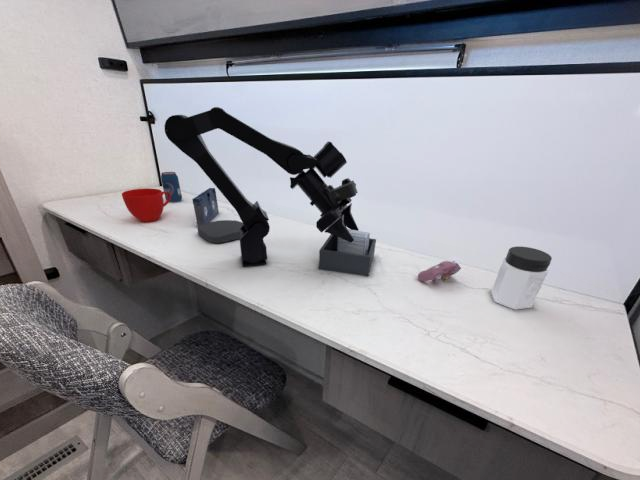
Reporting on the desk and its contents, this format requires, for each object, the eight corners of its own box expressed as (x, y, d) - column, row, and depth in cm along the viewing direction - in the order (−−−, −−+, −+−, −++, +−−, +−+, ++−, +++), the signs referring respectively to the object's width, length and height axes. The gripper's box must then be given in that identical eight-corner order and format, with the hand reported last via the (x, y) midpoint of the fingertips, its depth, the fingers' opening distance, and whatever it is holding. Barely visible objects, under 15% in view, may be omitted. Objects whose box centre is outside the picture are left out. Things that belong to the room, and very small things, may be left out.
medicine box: (367, 261, 88) (370, 232, 83) (363, 267, 84) (366, 237, 79) (341, 256, 90) (343, 227, 85) (336, 262, 86) (338, 232, 82)
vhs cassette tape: (213, 212, 125) (209, 187, 120) (220, 213, 125) (216, 187, 120) (196, 227, 109) (190, 199, 104) (204, 227, 109) (199, 199, 104)
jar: (506, 311, 68) (527, 262, 62) (482, 293, 75) (499, 247, 68) (539, 307, 70) (563, 259, 63) (513, 290, 76) (532, 245, 70)
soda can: (162, 202, 136) (156, 173, 130) (171, 198, 142) (165, 171, 136) (177, 203, 136) (171, 174, 129) (185, 199, 141) (180, 172, 135)
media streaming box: (213, 245, 95) (211, 236, 94) (194, 233, 104) (193, 224, 103) (254, 236, 103) (253, 227, 102) (233, 225, 113) (232, 217, 111)
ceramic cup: (184, 216, 120) (178, 190, 115) (142, 227, 108) (134, 198, 102) (163, 210, 126) (157, 185, 120) (122, 220, 113) (113, 192, 108)
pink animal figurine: (424, 290, 78) (439, 273, 72) (414, 276, 80) (428, 259, 74) (451, 283, 82) (467, 266, 76) (442, 270, 84) (457, 253, 78)
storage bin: (318, 269, 83) (319, 250, 80) (330, 250, 95) (330, 233, 92) (368, 276, 81) (370, 257, 78) (373, 256, 92) (376, 239, 89)
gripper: (331, 175, 68) (374, 228, 71) (346, 163, 83) (381, 208, 87) (298, 207, 73) (339, 255, 77) (318, 191, 89) (352, 232, 92)
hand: (355, 236), depth 83 cm, fingers open, 8 cm apart
